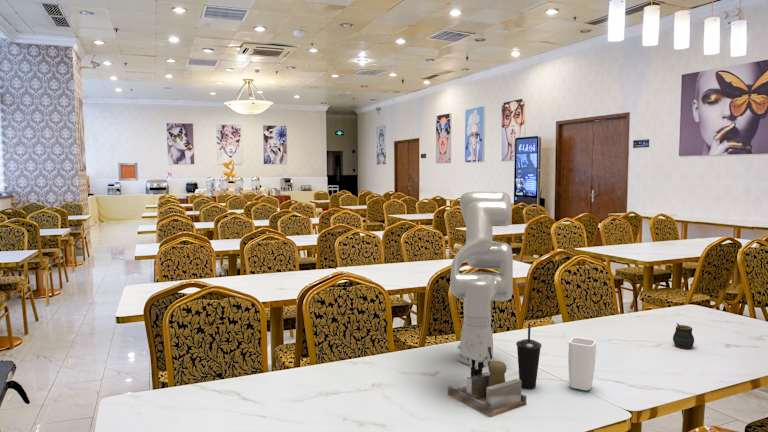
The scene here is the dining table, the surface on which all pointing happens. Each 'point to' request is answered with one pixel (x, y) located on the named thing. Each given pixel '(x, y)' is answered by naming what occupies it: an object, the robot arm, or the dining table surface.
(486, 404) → the base
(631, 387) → the dining table surface
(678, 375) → the dining table surface
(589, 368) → the cup
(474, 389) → the sliding jaw
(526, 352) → the drinking cup
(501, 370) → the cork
